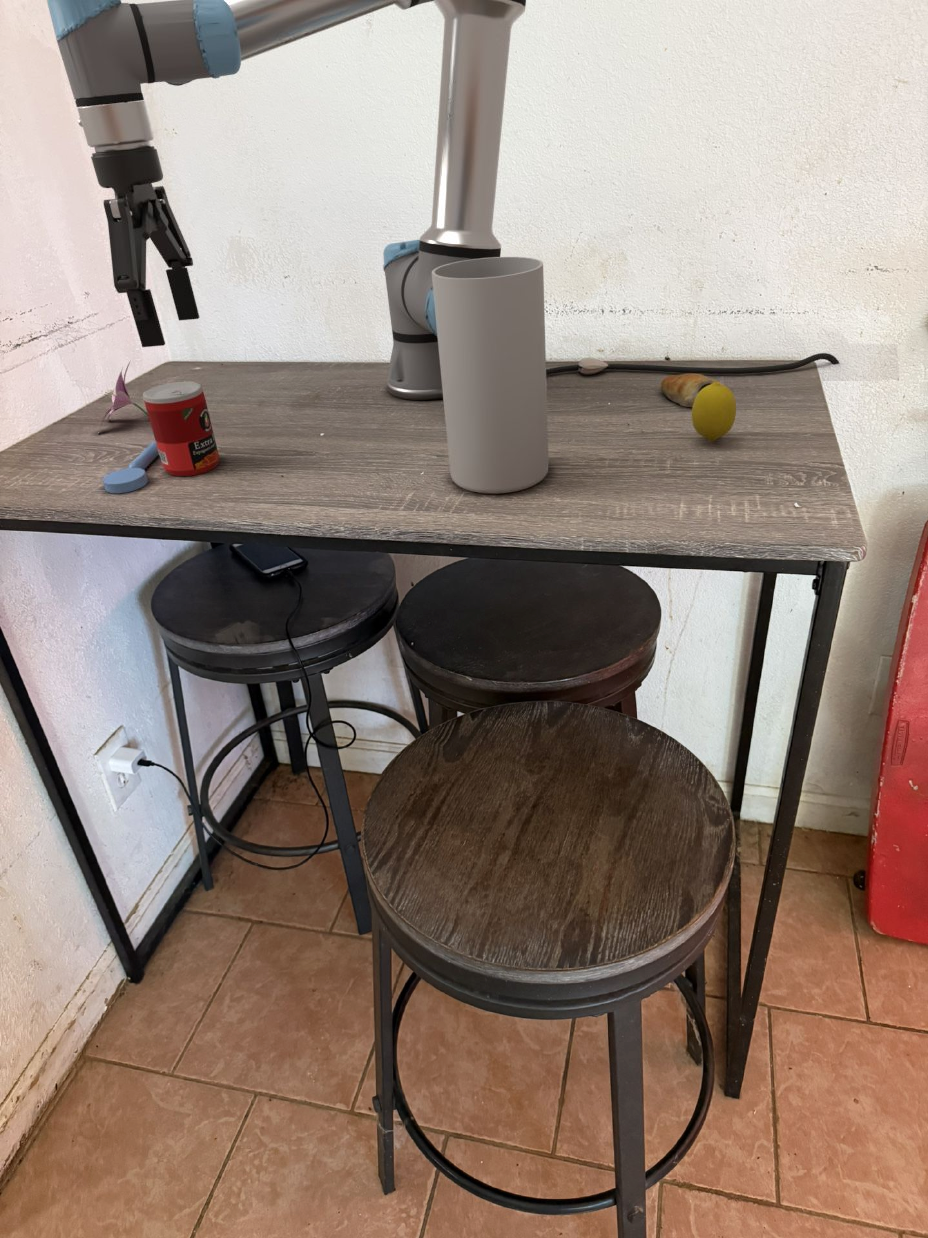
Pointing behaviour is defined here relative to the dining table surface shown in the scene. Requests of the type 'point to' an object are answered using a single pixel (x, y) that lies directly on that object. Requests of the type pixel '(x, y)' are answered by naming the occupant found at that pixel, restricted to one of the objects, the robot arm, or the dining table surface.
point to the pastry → (684, 387)
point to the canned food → (182, 428)
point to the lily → (120, 396)
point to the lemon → (714, 411)
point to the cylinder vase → (493, 371)
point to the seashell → (591, 366)
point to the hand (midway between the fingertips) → (172, 331)
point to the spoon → (131, 473)
